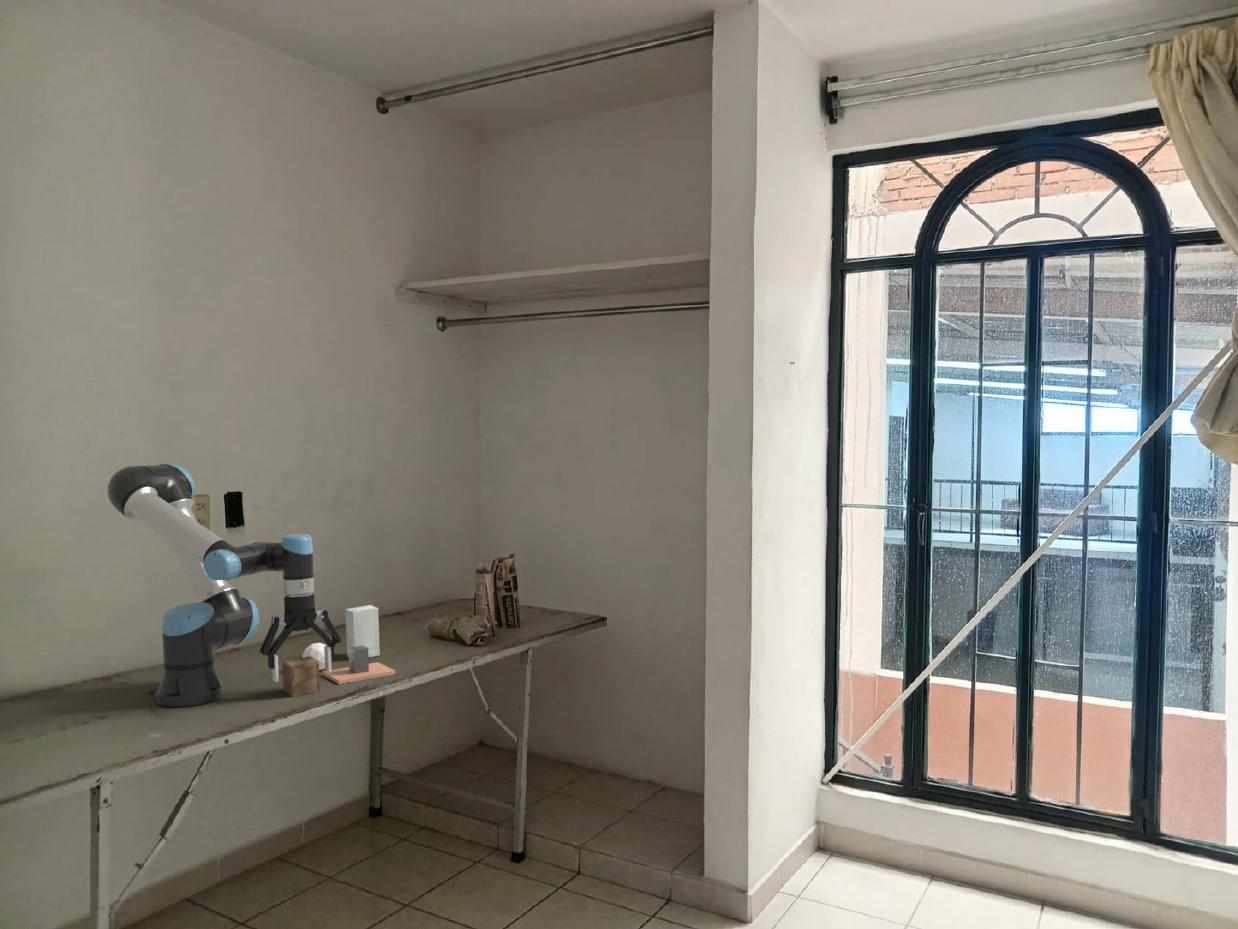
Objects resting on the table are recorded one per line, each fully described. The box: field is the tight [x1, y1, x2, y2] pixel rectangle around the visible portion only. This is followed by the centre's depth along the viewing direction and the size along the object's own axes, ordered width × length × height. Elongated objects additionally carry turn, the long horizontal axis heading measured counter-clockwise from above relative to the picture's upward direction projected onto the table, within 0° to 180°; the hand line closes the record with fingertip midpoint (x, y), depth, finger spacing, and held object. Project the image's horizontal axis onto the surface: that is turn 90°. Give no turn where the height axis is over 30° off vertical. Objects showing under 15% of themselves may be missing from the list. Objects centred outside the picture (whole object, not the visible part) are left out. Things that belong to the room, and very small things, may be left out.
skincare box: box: [344, 604, 381, 658], centre depth 271 cm, size 8×6×15 cm
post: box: [348, 645, 370, 674], centre depth 250 cm, size 4×4×6 cm
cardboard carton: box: [282, 656, 321, 698], centre depth 235 cm, size 7×7×8 cm
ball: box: [301, 642, 327, 671], centre depth 256 cm, size 8×8×8 cm
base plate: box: [322, 662, 396, 685], centre depth 251 cm, size 16×12×1 cm
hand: (302, 676), depth 234 cm, fingers open, 13 cm apart
